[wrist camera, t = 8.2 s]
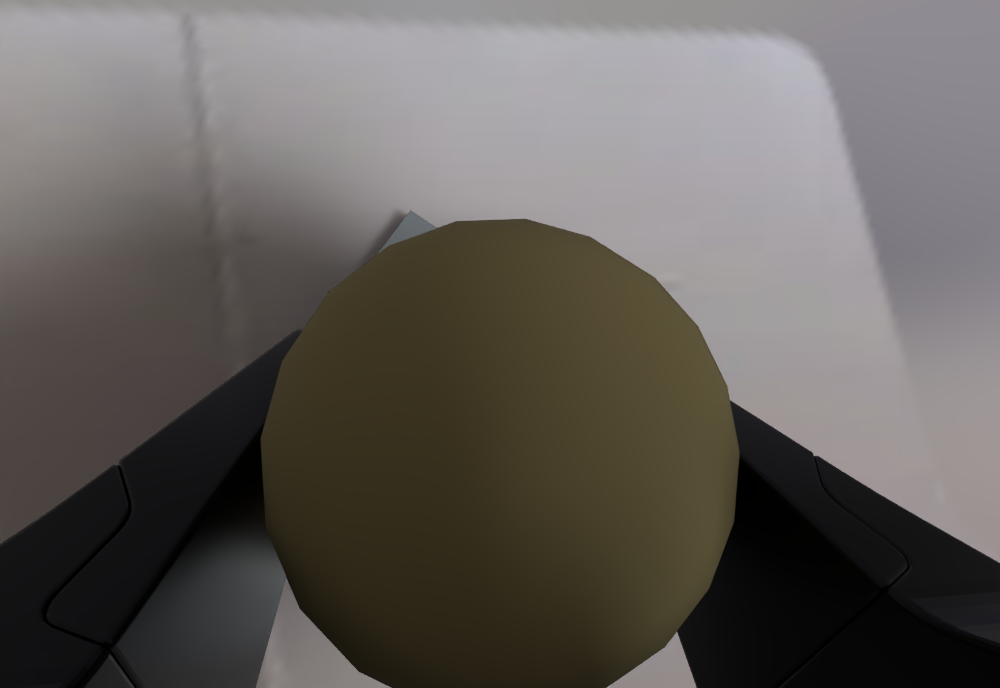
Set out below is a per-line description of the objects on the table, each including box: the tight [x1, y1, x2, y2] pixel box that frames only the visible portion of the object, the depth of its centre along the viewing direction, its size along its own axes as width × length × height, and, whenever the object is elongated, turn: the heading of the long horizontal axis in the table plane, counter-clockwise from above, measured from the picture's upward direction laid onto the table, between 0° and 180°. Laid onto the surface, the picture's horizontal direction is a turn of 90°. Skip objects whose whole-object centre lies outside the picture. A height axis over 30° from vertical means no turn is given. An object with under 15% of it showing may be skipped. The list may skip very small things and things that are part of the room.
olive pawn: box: [261, 219, 740, 688], centre depth 9 cm, size 6×6×11 cm
